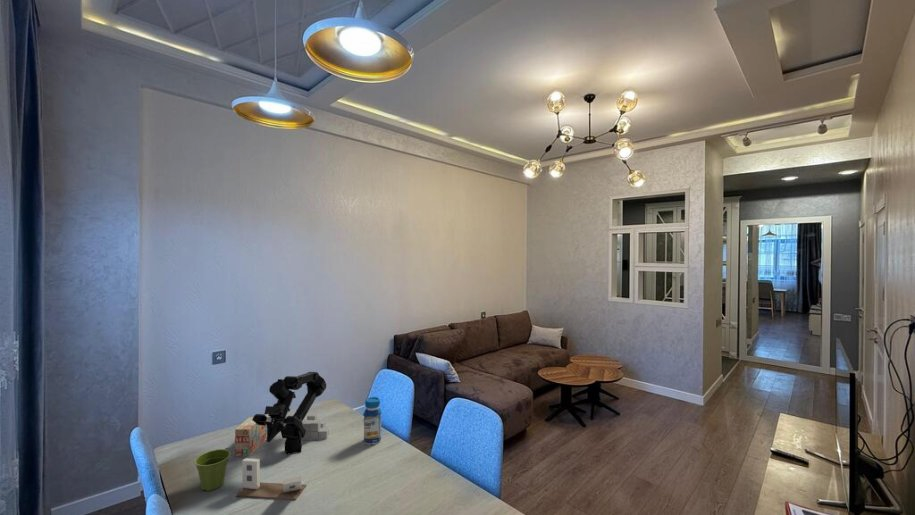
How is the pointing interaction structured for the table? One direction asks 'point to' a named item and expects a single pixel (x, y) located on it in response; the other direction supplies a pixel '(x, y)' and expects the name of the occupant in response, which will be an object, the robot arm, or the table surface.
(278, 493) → the tile board
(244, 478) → the tile
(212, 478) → the plant pot
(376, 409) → the beverage bottle
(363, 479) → the table surface
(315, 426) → the puzzle cube
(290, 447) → the robot arm
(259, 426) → the stack of blocks
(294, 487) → the tile
